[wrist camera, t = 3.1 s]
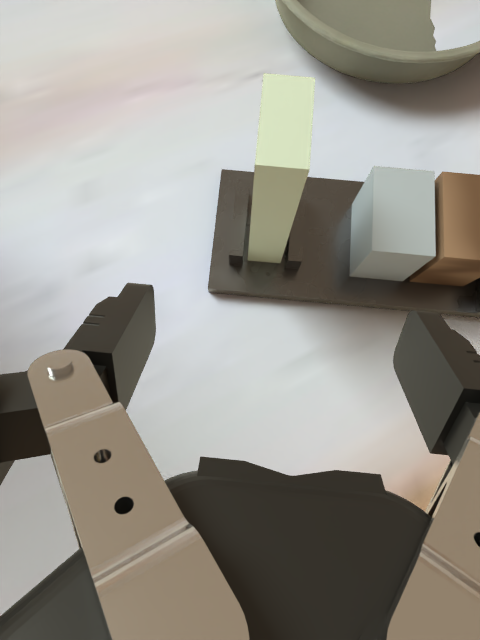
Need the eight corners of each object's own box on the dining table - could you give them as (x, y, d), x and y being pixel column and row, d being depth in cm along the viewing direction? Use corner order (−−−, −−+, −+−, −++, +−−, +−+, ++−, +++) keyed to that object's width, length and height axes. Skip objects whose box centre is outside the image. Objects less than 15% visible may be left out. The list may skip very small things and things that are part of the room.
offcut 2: (409, 281, 29) (444, 256, 24) (409, 209, 31) (442, 171, 26) (462, 286, 29) (508, 262, 24) (460, 213, 30) (503, 177, 26)
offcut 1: (349, 276, 29) (372, 250, 24) (351, 204, 31) (373, 166, 26) (402, 281, 29) (435, 256, 24) (402, 208, 31) (434, 171, 26)
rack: (208, 292, 30) (204, 275, 26) (222, 176, 32) (220, 144, 28) (481, 317, 30) (518, 304, 26) (476, 199, 32) (510, 170, 28)
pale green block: (247, 260, 29) (255, 164, 18) (253, 200, 31) (263, 73, 19) (280, 263, 29) (309, 169, 18) (285, 203, 31) (315, 77, 19)
